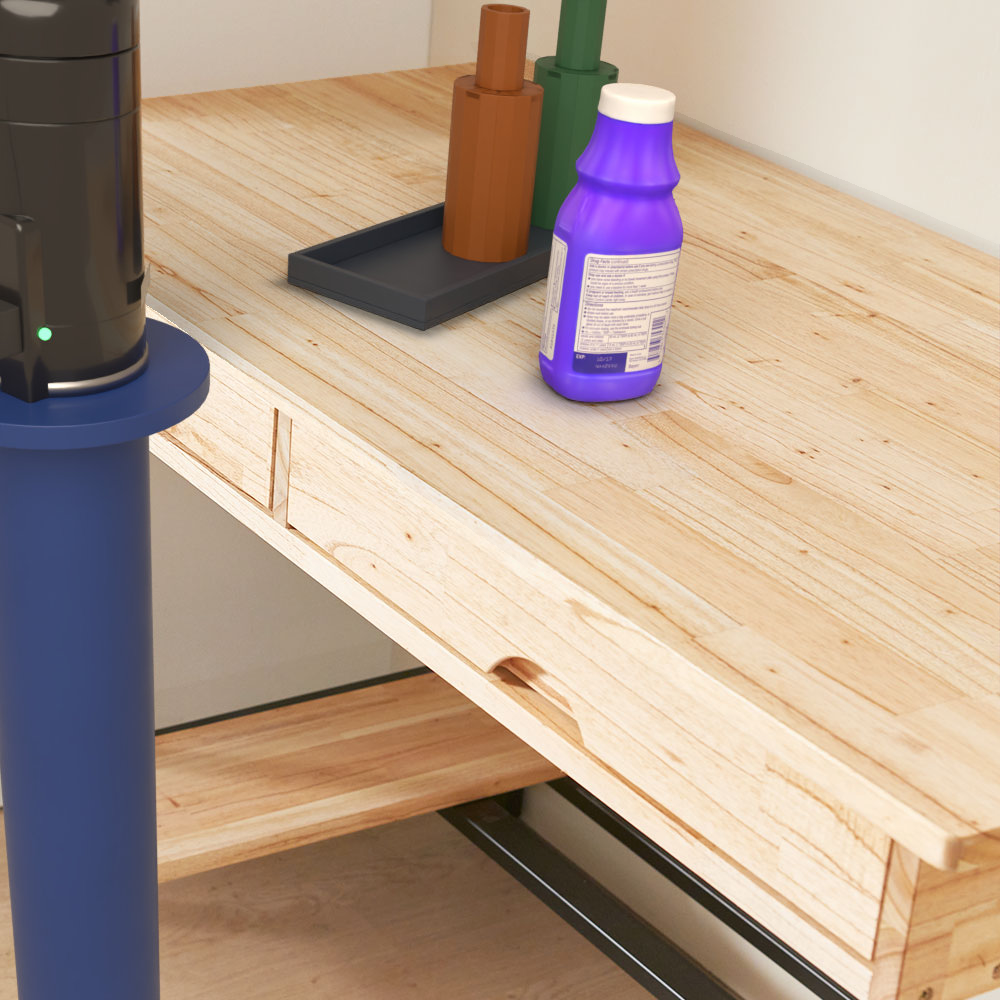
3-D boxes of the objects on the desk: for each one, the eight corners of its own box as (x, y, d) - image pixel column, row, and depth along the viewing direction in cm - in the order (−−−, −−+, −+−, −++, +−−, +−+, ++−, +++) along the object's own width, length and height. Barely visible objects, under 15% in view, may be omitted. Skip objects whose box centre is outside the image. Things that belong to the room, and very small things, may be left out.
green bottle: (571, 243, 113) (599, 5, 105) (504, 223, 116) (526, -10, 108) (613, 226, 118) (642, -3, 110) (547, 207, 120) (571, -18, 112)
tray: (423, 331, 96) (425, 300, 95) (286, 282, 101) (287, 253, 100) (652, 230, 118) (656, 205, 117) (531, 195, 123) (533, 170, 122)
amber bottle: (494, 275, 106) (518, 22, 98) (424, 253, 108) (442, 5, 100) (542, 256, 110) (568, 12, 102) (473, 235, 113) (494, -5, 105)
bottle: (627, 363, 94) (667, 76, 86) (675, 401, 90) (722, 102, 82) (521, 374, 91) (552, 78, 83) (565, 414, 87) (602, 105, 79)
